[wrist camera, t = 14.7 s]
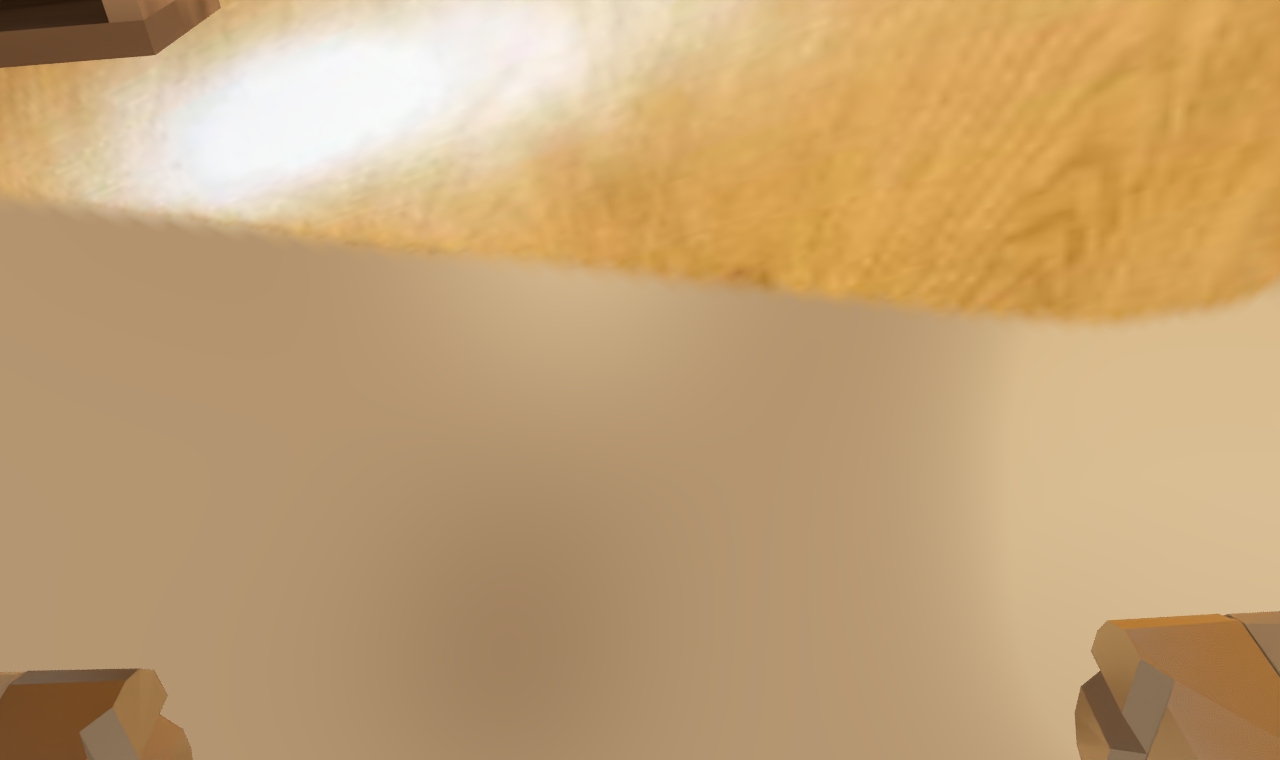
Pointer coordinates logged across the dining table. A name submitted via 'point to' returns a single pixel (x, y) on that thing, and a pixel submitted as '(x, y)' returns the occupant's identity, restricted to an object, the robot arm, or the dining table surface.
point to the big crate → (93, 28)
